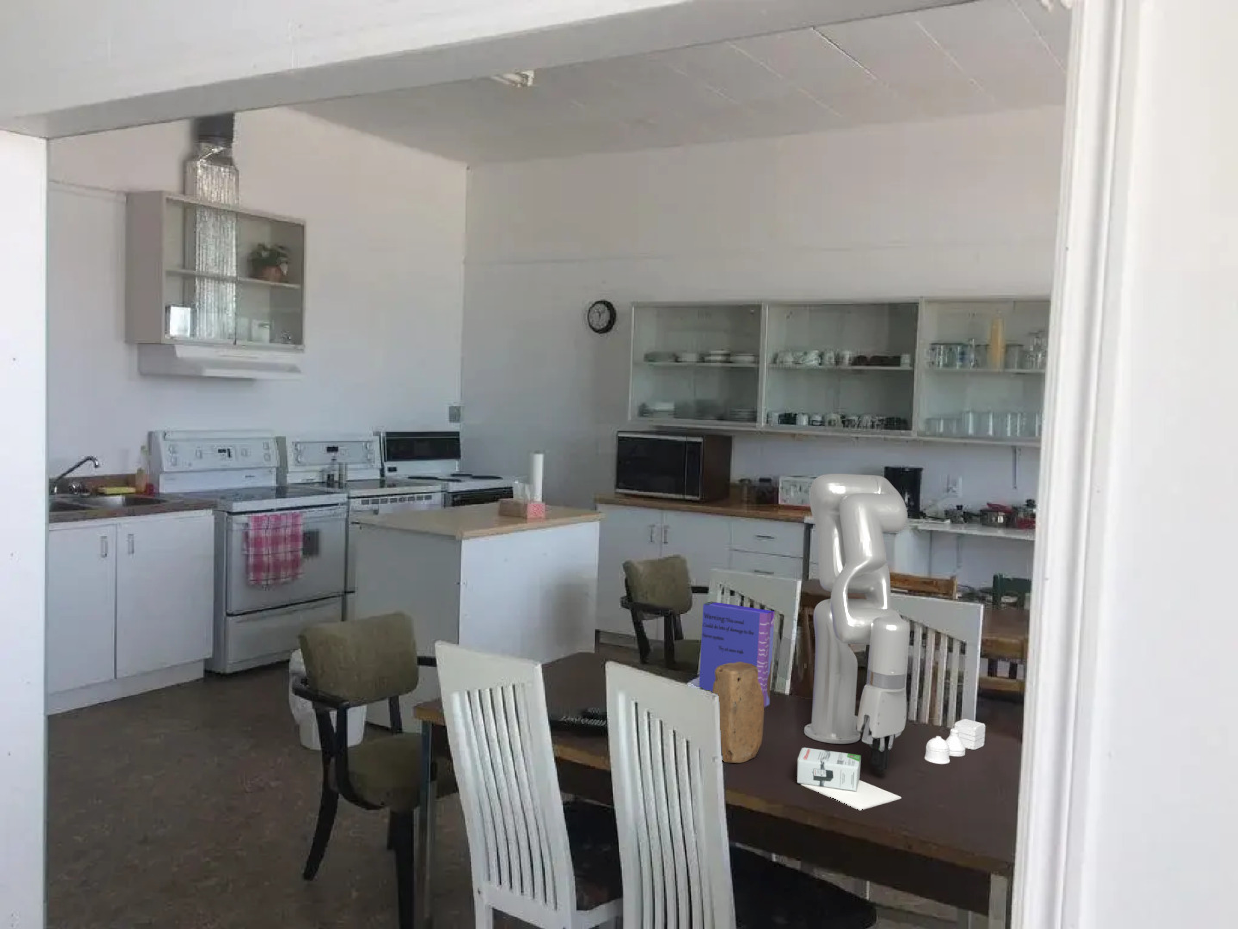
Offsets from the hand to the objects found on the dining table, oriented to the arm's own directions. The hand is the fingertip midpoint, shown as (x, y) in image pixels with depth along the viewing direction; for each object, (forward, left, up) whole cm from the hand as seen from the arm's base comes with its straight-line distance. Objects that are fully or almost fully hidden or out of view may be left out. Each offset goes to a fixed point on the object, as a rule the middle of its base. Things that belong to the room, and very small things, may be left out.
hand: (879, 767), depth 213 cm
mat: (+10, +1, -3) cm, 10 cm away
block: (+16, -25, -3) cm, 30 cm away
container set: (-29, -3, -3) cm, 30 cm away
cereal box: (-13, -57, -3) cm, 58 cm away
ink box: (+6, +1, 0) cm, 7 cm away
